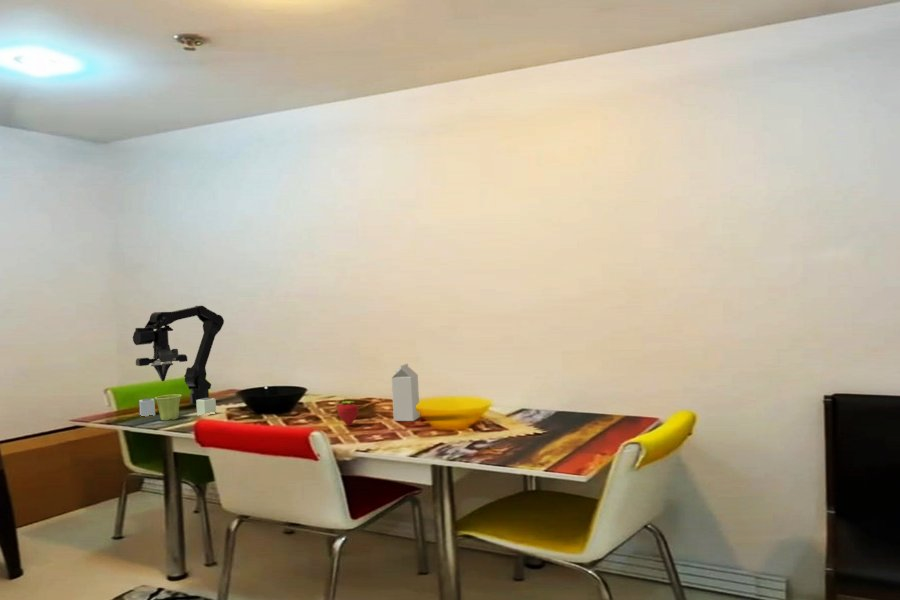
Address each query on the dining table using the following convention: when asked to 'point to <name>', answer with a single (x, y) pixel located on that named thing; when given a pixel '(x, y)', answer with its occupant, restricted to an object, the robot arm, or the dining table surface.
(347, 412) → the strawberry
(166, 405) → the plant pot
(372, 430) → the dining table surface
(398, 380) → the milk carton
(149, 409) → the slate block
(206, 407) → the sage block
